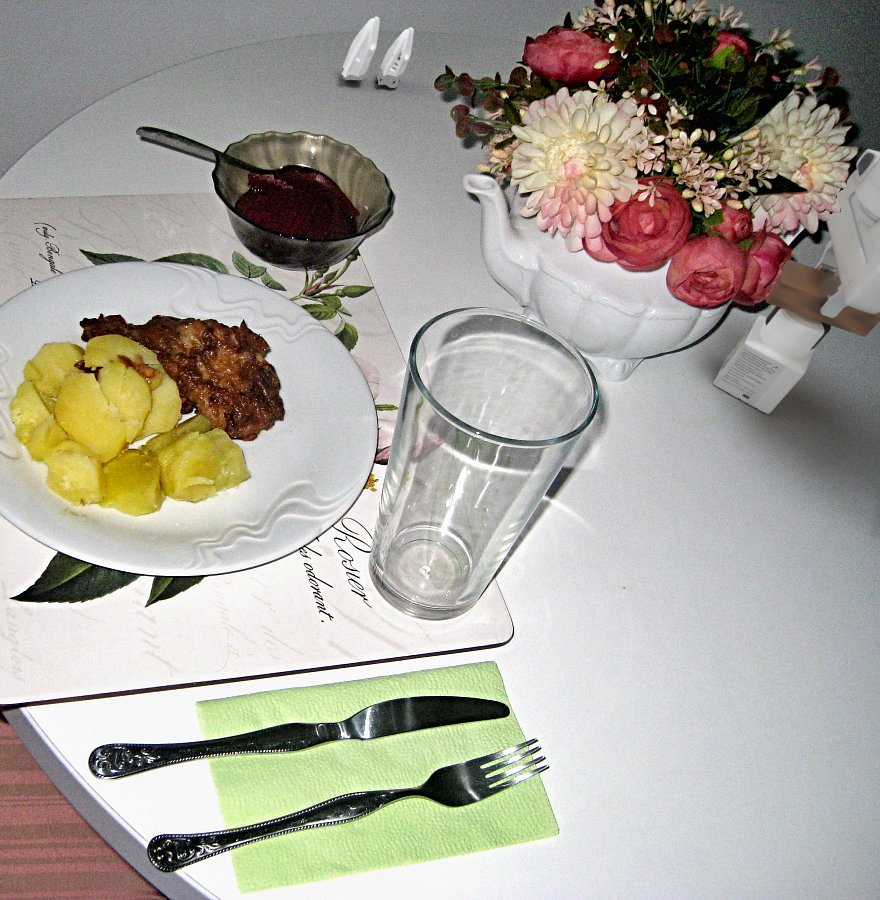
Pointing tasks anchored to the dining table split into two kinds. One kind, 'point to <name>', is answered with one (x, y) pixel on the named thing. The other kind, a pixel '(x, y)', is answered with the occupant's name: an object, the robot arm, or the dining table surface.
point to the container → (770, 358)
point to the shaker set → (366, 47)
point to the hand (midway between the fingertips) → (822, 294)
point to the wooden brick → (817, 298)
